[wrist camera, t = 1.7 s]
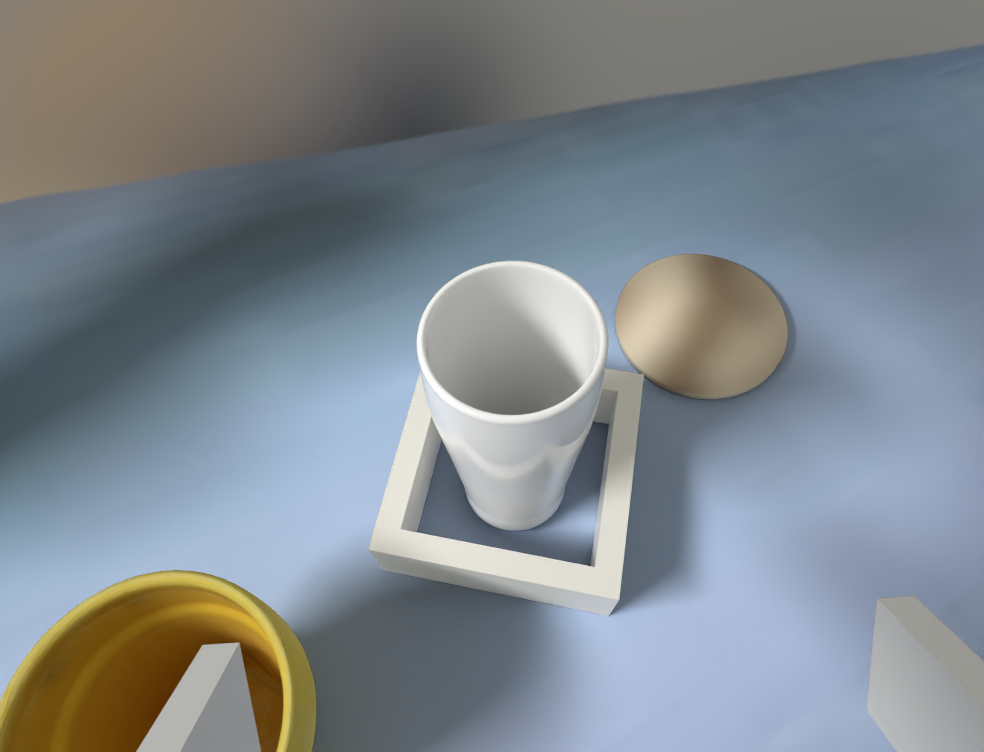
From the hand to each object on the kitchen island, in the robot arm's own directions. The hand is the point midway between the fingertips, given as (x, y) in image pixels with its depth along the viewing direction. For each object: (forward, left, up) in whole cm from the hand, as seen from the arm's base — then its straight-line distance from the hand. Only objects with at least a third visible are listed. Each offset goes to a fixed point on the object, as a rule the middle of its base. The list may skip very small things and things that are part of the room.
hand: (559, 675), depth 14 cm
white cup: (-3, +11, -19) cm, 22 cm away
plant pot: (-13, -3, -19) cm, 24 cm away
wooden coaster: (+6, +23, -19) cm, 30 cm away
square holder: (-3, +11, -19) cm, 22 cm away
